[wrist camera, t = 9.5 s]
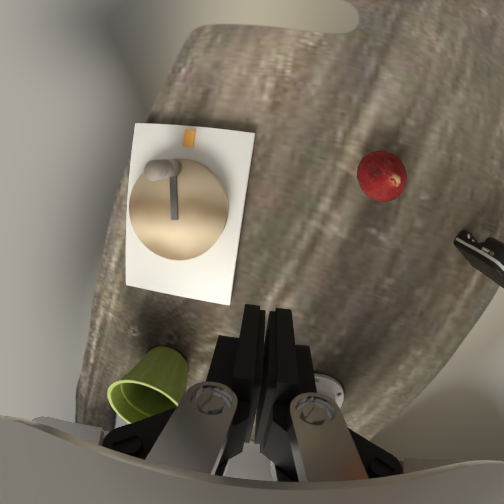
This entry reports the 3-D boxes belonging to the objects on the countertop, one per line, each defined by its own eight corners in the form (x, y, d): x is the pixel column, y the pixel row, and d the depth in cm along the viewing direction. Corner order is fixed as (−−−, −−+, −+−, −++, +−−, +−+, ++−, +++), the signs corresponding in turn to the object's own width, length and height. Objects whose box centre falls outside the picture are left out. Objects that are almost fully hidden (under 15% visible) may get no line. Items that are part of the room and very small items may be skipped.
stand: (230, 300, 41) (228, 307, 39) (130, 280, 41) (124, 286, 39) (255, 134, 34) (254, 132, 32) (140, 124, 34) (133, 122, 32)
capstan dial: (229, 256, 37) (218, 283, 29) (139, 253, 37) (111, 276, 30) (228, 157, 33) (216, 157, 25) (133, 161, 34) (100, 164, 26)
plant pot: (125, 334, 44) (94, 377, 33) (192, 332, 43) (171, 382, 32) (147, 387, 47) (126, 431, 37) (209, 388, 46) (196, 439, 36)
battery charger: (485, 248, 36) (530, 274, 25) (472, 267, 37) (515, 298, 26) (464, 221, 35) (513, 244, 24) (450, 241, 36) (497, 269, 25)
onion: (342, 181, 35) (360, 188, 27) (363, 142, 33) (386, 139, 25) (379, 204, 35) (404, 217, 28) (399, 167, 33) (429, 171, 26)
